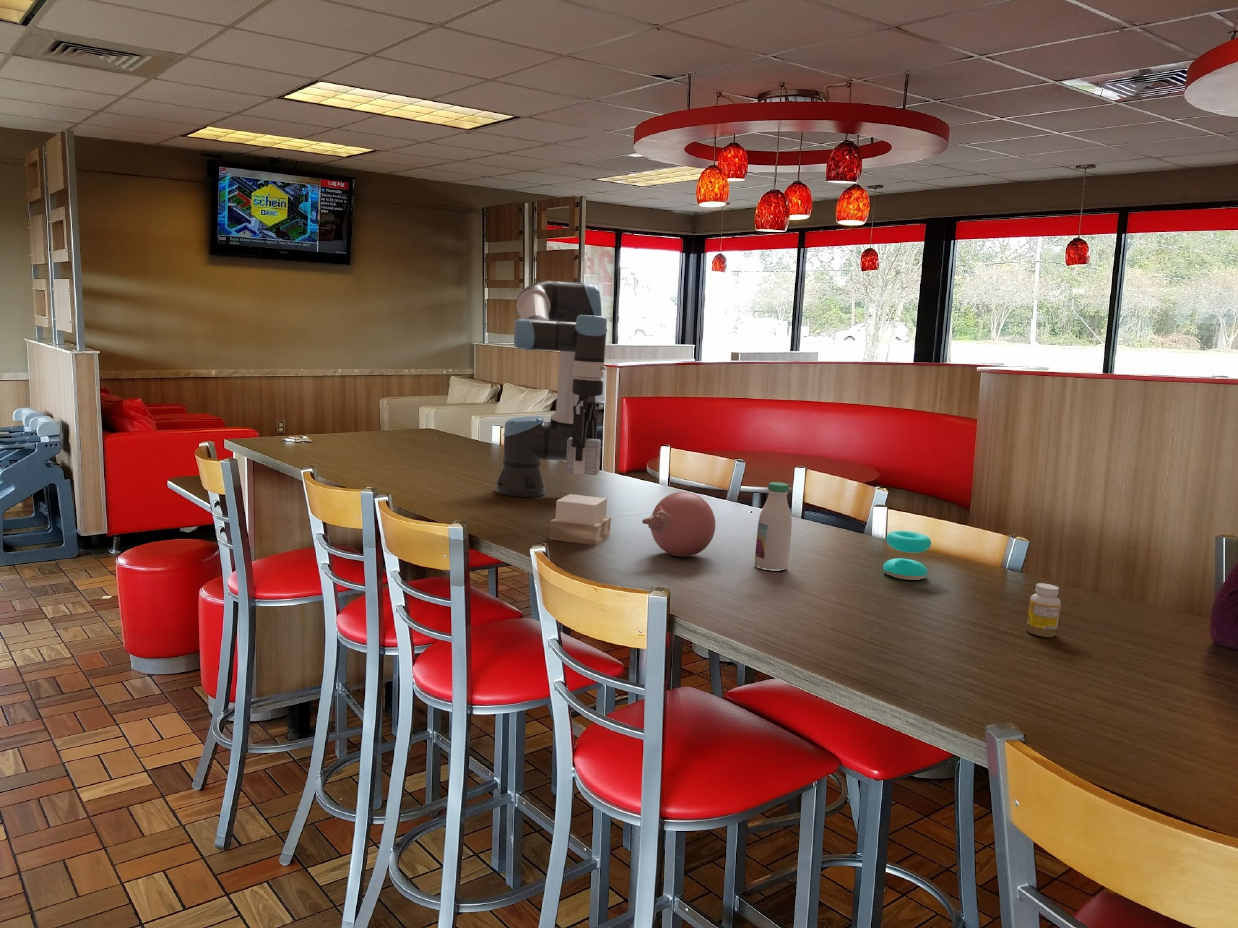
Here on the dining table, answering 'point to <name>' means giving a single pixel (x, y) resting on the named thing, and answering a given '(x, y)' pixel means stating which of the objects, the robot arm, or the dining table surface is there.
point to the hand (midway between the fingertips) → (582, 472)
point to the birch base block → (580, 531)
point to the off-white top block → (581, 509)
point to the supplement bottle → (1044, 607)
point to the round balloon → (682, 524)
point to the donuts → (907, 544)
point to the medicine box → (591, 456)
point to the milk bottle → (774, 529)
